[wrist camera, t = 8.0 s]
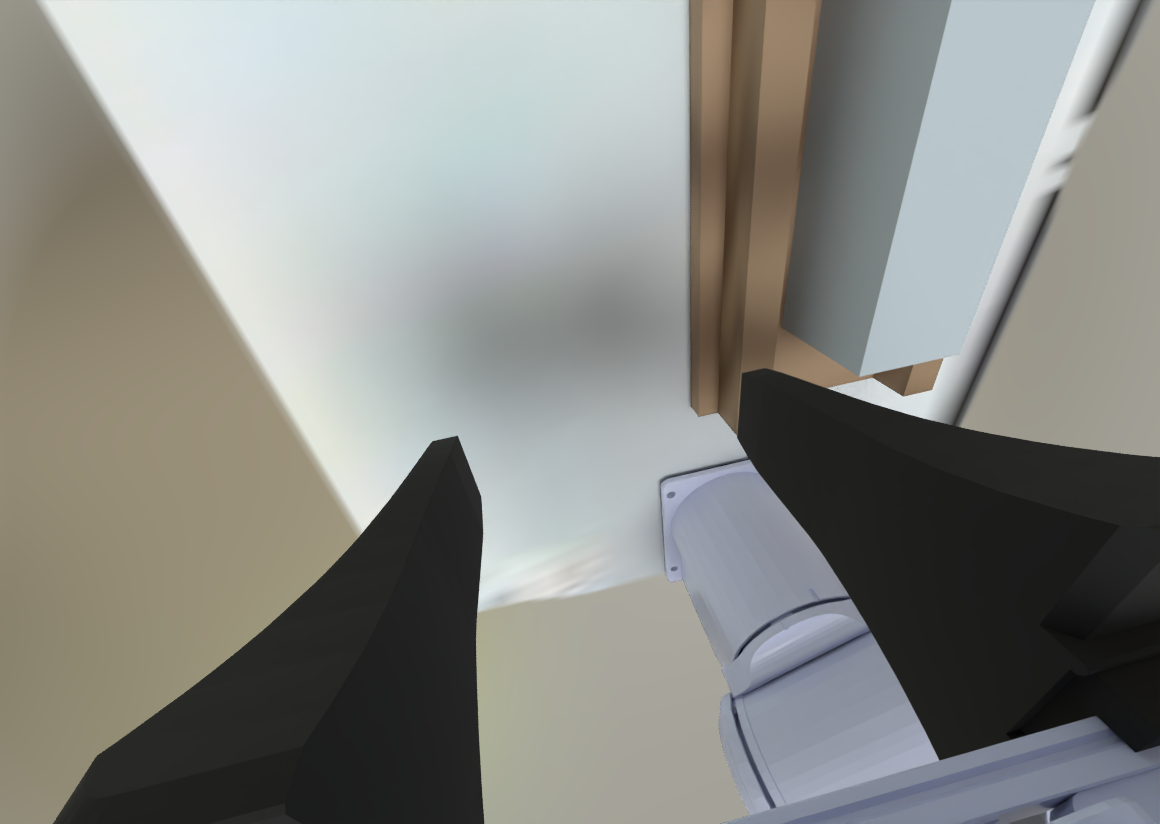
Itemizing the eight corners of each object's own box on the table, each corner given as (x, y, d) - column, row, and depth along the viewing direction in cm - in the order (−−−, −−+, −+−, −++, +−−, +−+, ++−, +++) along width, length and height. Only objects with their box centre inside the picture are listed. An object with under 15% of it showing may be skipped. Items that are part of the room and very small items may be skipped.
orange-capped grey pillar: (862, 310, 20) (959, 354, 16) (782, 327, 20) (859, 377, 16) (968, -153, 12) (1212, -307, 8) (838, -134, 12) (1021, -282, 8)
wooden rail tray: (901, 359, 23) (951, 385, 21) (691, 406, 22) (716, 439, 20) (1107, -320, 12) (1273, -446, 9) (688, -269, 11) (746, -390, 8)
